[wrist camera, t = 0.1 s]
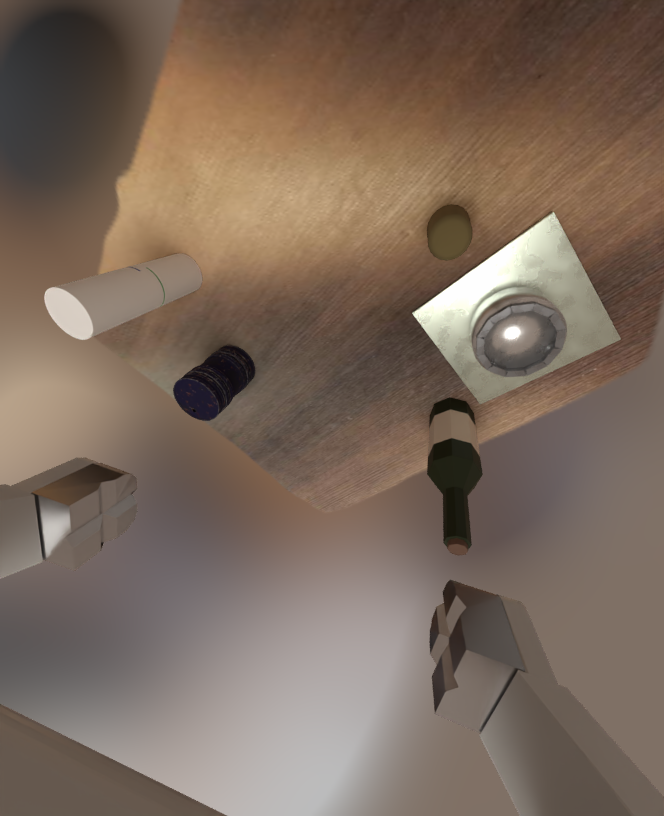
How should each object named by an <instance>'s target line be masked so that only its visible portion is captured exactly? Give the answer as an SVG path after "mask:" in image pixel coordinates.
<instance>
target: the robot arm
mask: <svg viewBox="0 0 664 816" xmlns="http://www.w3.org/2000/svg"><path fill="white" fill-rule="evenodd" d="M136 490H137V478H136V477H135V476H133V475H132V474H130V473H127V472H124V471H122V470H119V469H116V468H113V467H111V466H108V465H105V464H103V463H98V462H96V461H93V460H90V459H88V458H75V459H73V460H71V461H68V462H66V463H63V464H61V465H59V466H56V467H54V468H52V469H49V470H47V471H45V472H43V473H40V474H38V475H35V476H33V477H31V478H29V479H26V480H24V481H21V482H19V483H17V484H14V485H12V486H9V485H6V484H4V485H0V579H1V578H3V577H5V576H8V575H11V574H13V573H16V572H18V571H21V570H23V569H26V568H28V567H31V566H34V565H36V564H39V563H41V562H42V561H43V560H45V561H48V562H51V563H54V564H56V565H59V566H62V567H65V568H68V569H71V570H73V571H75V570H77V569H78V568H79V567H80V566H82V565H83V564H84V563H86V562H87V561H88V560H90V559H91V558H92V557H93V556H95V555H96V554H97V553H98V552H100V551H101V549H102V546H103V543H104V542H107V541H110V540H113V539H116V538H118V537H119V536H120V535H122V534H123V533H124V532H125V531H127V529H128V528H129V527H130V525H131V524H132V522H133V521H134V519H135V516H136V513H137V502H136V500H135V498H134V496H133V495H132V494H133V493H134V492H135V491H136ZM443 599H444V603H443V604H441V605H439V606H437V607H436V610H435V612H434V615H433V618H432V623H431V628H430V654H431V656H432V658H433V659H434V661H435V663H436V664H437V666H436V668H435V670H434V673H433V675H432V684H433V696H434V710H435V714H436V715H438V716H441V717H443V718H446V719H448V720H450V721H452V722H455V723H457V724H459V725H462V726H464V727H466V728H469V729H471V730H474V731H476V732H478V733H480V738H481V740H482V742H483V744H484V746H485V748H486V750H487V752H488V754H489V756H490V758H491V760H492V762H493V764H494V766H495V768H496V770H497V772H498V774H499V776H500V778H501V780H502V782H503V783H504V786H505V787H506V789H507V791H508V793H509V795H510V797H511V799H512V801H513V803H514V805H515V807H516V809H517V811H518V813H519V815H520V816H664V797H663V796H662V794H661V793H660V792H659V791H658V790H657V789H656V787H655V786H654V785H653V784H652V783H651V782H650V781H649V780H648V778H647V777H646V776H645V775H644V774H643V773H642V772H641V771H640V770H639V768H638V767H637V766H636V765H635V764H634V763H633V762H632V760H631V759H630V758H629V757H628V756H627V755H626V754H625V753H624V752H623V750H622V749H621V748H620V747H619V746H618V745H617V744H616V742H615V741H614V740H613V739H612V738H611V737H610V736H609V735H608V733H607V732H606V731H605V730H604V729H603V728H602V727H601V726H600V724H599V723H598V722H597V721H596V720H595V719H594V718H593V717H592V715H591V714H590V713H589V712H588V711H587V710H586V709H585V708H584V706H583V705H582V704H581V703H580V702H579V701H578V700H577V698H576V697H575V696H574V695H573V694H572V693H571V692H570V691H569V690H568V689H567V688H566V687H564V686H561V685H558V683H557V680H556V678H555V676H554V673H553V671H552V668H551V666H550V664H549V661H548V659H547V657H546V654H545V652H544V649H543V647H542V645H541V642H540V640H539V637H538V635H537V633H536V630H535V628H534V626H533V623H532V621H531V618H530V616H529V614H528V611H527V609H526V607H525V606H524V605H523V603H522V602H520V601H517V600H513V599H510V598H507V597H504V596H501V595H495V594H493V593H489V592H486V591H483V590H480V589H477V588H474V587H471V586H468V585H465V584H462V583H459V582H456V581H453V580H449V581H448V582H447V584H446V586H445V588H444V590H443ZM0 816H226V815H224V814H222V813H220V812H218V811H216V810H214V809H212V808H210V807H208V806H206V805H204V804H202V803H200V802H198V801H196V800H194V799H192V798H190V797H188V796H186V795H184V794H182V793H180V792H178V791H176V790H174V789H172V788H170V787H168V786H165V785H164V784H162V783H160V782H158V781H155V780H153V779H151V778H149V777H147V776H145V775H143V774H141V773H139V772H137V771H135V770H133V769H131V768H129V767H127V766H125V765H123V764H121V763H119V762H117V761H115V760H113V759H111V758H109V757H107V756H105V755H103V754H100V753H99V752H97V751H95V750H92V749H91V748H89V747H86V746H84V745H82V744H80V743H78V742H76V741H74V740H72V739H70V738H68V737H66V736H64V735H62V734H60V733H58V732H56V731H54V730H52V729H50V728H48V727H46V726H44V725H42V724H40V723H38V722H36V721H34V720H32V719H29V718H28V717H25V716H24V715H22V714H20V713H18V712H16V711H13V710H12V709H9V708H7V707H5V706H3V705H1V704H0Z"/></svg>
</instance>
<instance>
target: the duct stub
mask: <svg viewBox="0 0 664 816" xmlns="http://www.w3.org/2000/svg"><path fill="white" fill-rule="evenodd" d="M412 314H413V315H414V316H415V318H416V319H417V320H418V322H419V323H420V324H421V326H422V327H423V328H424V330H425V331H426V332H427V334H428V335H429V336H430V338H431V339H432V340H433V342H434V343H435V344H436V346H437V347H438V348H439V350H440V351H441V352H442V354H443V355H444V356H445V358H446V359H447V360H448V362H449V363H450V364H451V366H452V367H453V369H454V370H455V371H456V373H457V374H458V375H459V377H460V378H461V379H462V381H463V382H464V383H465V385H466V386H467V387H468V389H469V390H470V391H471V393H472V394H473V395H474V397H475V398H476V399H477V401H478V402H479V403H480V404H482V403H484V402H486V401H489V400H491V399H493V398H495V397H497V396H499V395H502V394H504V393H506V392H508V391H510V390H512V389H515V388H517V387H519V386H521V385H523V384H525V383H528V382H530V381H532V380H534V379H536V378H538V377H541V376H543V375H545V374H547V373H549V372H551V371H554V370H556V369H558V368H560V367H562V366H564V365H567V364H569V363H571V362H573V361H575V360H577V359H580V358H582V357H584V356H586V355H588V354H590V353H593V352H595V351H597V350H599V349H601V348H603V347H606V346H608V345H610V344H612V343H614V342H616V341H618V340H621V338H620V336H619V334H618V333H617V331H616V329H615V327H614V325H613V323H612V321H611V319H610V317H609V316H608V314H607V312H606V310H605V308H604V306H603V304H602V302H601V300H600V299H599V297H598V295H597V293H596V291H595V289H594V287H593V285H592V283H591V282H590V280H589V278H588V276H587V274H586V272H585V270H584V268H583V267H582V265H581V263H580V261H579V259H578V257H577V255H576V253H575V251H574V250H573V248H572V246H571V244H570V242H569V240H568V238H567V236H566V234H565V233H564V231H563V229H562V227H561V225H560V223H559V221H558V219H557V217H556V216H555V214H554V212H550V213H549V214H548V215H546V216H545V217H543V218H542V219H541V220H539V221H538V222H536V223H535V224H534V225H532V226H531V227H530V228H528V229H527V230H525V231H524V232H523V233H521V234H520V235H518V236H517V237H516V238H514V239H513V240H511V241H510V242H509V243H507V244H506V245H505V246H503V247H502V248H500V249H499V250H498V251H496V252H495V253H493V254H492V255H491V256H489V257H488V258H487V259H485V260H484V261H482V262H481V263H480V264H478V265H477V266H475V267H474V268H473V269H471V270H470V271H468V272H467V273H466V274H464V275H463V276H462V277H460V278H459V279H457V280H456V281H455V282H453V283H452V284H450V285H449V286H448V287H446V288H445V289H444V290H442V291H441V292H439V293H438V294H437V295H435V296H434V297H432V298H431V299H430V300H428V301H427V302H425V303H424V304H423V305H421V306H420V307H419V308H417V309H416V310H414V311H413V313H412Z"/></svg>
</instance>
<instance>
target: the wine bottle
mask: <svg viewBox="0 0 664 816" xmlns="http://www.w3.org/2000/svg"><path fill="white" fill-rule="evenodd" d="M427 472H428V473H427V474H428V476H429V477H430V478H431V480H432V481H433V482H434V484H435V485H436V486H437V488H438V489H439V490H440V491H441V493H442V494H443V523H444V524H443V528H444V529H443V530H444V544H445V545H446V546H447V549H448V550H449V551H450V552H451V553H452V554H455V555H464V554H466V553H467V552H468V549H469V548H470V546H471V545H472V544H471V533H470V521H469V509H468V499H467V496H468V495H469V494H470V492H471V491H472V490H473V489H474V488H475V486H476V484H477V482H478V481H479V480H480V478H481V476H482V468H481V461H480V454H479V447H478V440H477V433H476V426H475V419H474V413H473V412H472V410H471V408H470V407H469V405H468V403H467V402H466V401H462V400H458V399H454V398H447V399H445V400H443V401H440V402H438V403H435V404H434V407H433V409H432V412H431V414H430V425H429V448H428V470H427Z"/></svg>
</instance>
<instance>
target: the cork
mask: <svg viewBox="0 0 664 816" xmlns="http://www.w3.org/2000/svg"><path fill="white" fill-rule="evenodd" d="M427 238H428V247H429V249H430V252H431V253H432V254H433V255H434V256H435V257H436V258H438V259H440V260H452V259H455V258H457V257H459V256H461V255H462V254H463V253H464V252H465V251H466V249H467V248H468V246H469V245H470V242H471V239H472V227H471V224H470V218H469V215H468V213H467V212H466V211H465V209H464V208H462V207H460V206H458V205H447V206H443V207H442V208H440V209H439V210H437V211H436V212H435V213H434V214H433V215H432V217H431V219H430V221H429V223H428V227H427Z"/></svg>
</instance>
